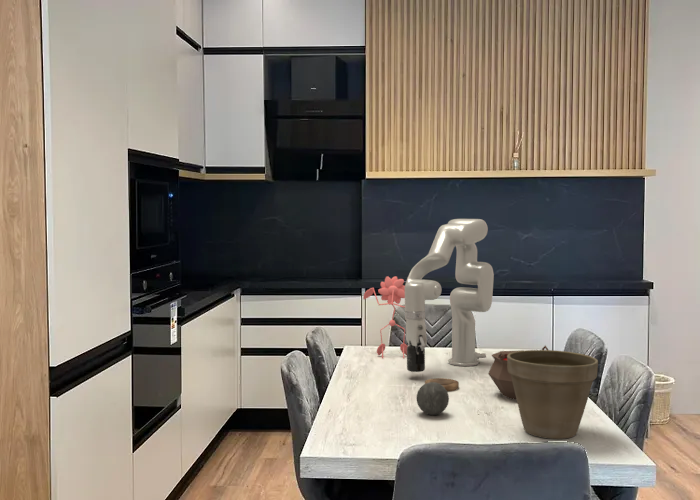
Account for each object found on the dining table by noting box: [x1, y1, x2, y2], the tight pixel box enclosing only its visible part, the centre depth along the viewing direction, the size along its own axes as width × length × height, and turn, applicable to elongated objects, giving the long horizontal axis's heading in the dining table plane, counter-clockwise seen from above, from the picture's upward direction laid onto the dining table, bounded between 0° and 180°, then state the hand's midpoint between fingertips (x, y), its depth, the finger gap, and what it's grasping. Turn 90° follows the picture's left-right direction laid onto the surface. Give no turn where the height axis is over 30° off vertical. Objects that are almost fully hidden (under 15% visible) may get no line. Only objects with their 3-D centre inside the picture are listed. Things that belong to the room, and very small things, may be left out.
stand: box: [424, 377, 460, 393], centre depth 262 cm, size 12×12×2 cm
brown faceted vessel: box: [487, 344, 549, 401], centre depth 250 cm, size 24×24×16 cm
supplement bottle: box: [406, 341, 426, 373], centre depth 276 cm, size 7×7×12 cm
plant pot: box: [507, 349, 599, 440], centre depth 208 cm, size 25×25×22 cm
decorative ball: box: [416, 382, 450, 416], centre depth 227 cm, size 10×10×10 cm
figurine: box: [363, 275, 408, 359], centre depth 321 cm, size 15×26×35 cm, turn 88°
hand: (415, 361), depth 277 cm, fingers closed on supplement bottle, 6 cm apart
